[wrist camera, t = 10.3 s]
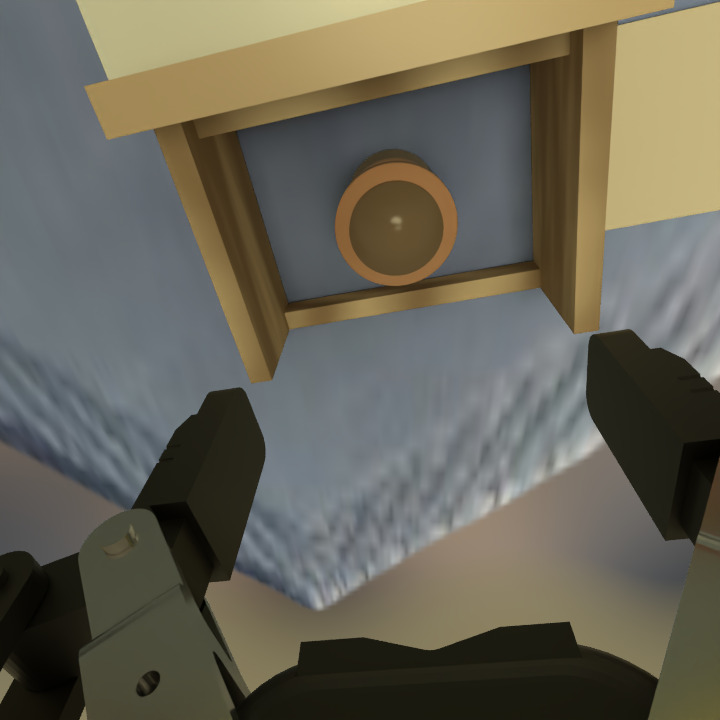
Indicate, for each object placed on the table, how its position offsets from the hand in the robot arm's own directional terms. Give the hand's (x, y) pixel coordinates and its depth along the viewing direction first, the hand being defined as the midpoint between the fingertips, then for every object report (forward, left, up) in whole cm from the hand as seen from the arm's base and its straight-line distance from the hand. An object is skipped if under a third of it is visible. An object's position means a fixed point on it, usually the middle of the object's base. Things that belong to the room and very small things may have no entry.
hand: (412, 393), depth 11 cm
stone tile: (+15, +1, -20) cm, 25 cm away
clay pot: (0, 0, -20) cm, 20 cm away
